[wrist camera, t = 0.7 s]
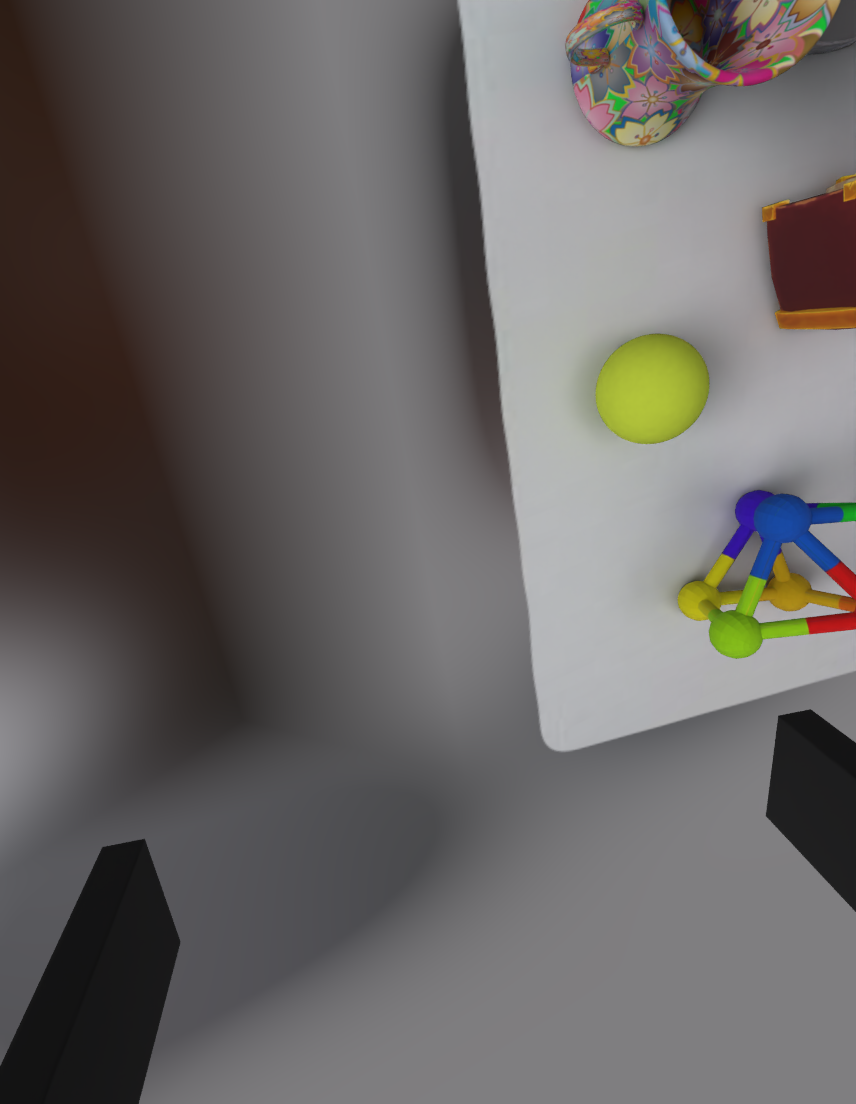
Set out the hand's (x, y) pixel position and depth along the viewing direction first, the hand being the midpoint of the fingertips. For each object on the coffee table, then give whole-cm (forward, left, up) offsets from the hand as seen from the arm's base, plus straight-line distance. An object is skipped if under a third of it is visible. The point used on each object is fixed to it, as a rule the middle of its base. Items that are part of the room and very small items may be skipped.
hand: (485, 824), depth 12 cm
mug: (-23, +17, -30) cm, 42 cm away
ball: (-5, +18, -27) cm, 33 cm away
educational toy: (+8, +27, -30) cm, 41 cm away
